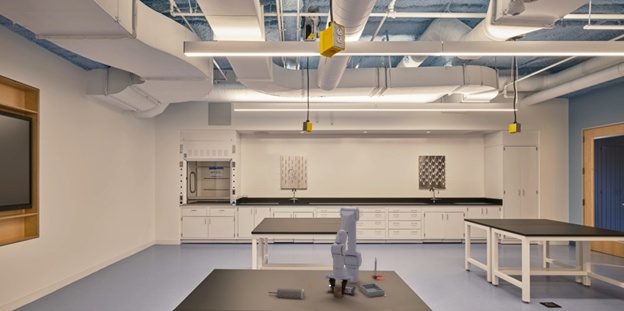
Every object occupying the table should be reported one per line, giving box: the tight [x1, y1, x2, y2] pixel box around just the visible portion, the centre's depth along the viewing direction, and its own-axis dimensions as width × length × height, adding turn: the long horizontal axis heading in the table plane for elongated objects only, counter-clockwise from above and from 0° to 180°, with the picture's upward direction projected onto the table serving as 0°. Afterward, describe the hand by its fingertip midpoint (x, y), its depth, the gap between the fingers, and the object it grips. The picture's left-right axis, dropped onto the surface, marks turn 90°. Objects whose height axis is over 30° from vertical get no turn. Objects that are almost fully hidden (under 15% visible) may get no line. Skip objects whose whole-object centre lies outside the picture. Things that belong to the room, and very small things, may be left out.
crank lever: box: [326, 283, 356, 296], centre depth 179 cm, size 15×4×3 cm, turn 71°
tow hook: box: [371, 257, 386, 281], centre depth 202 cm, size 8×13×9 cm
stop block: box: [333, 283, 344, 298], centre depth 175 cm, size 4×4×5 cm
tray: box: [359, 282, 385, 297], centre depth 180 cm, size 11×9×2 cm
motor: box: [268, 282, 313, 299], centre depth 184 cm, size 23×22×5 cm
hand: (338, 293), depth 175 cm, fingers closed on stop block, 4 cm apart
